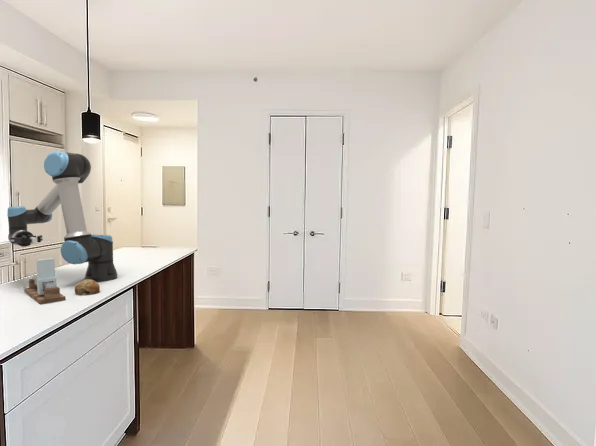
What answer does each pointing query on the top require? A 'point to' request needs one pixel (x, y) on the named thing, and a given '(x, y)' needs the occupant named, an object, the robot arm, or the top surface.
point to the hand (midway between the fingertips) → (35, 241)
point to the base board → (48, 295)
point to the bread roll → (87, 287)
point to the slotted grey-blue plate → (45, 273)
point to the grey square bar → (44, 283)
